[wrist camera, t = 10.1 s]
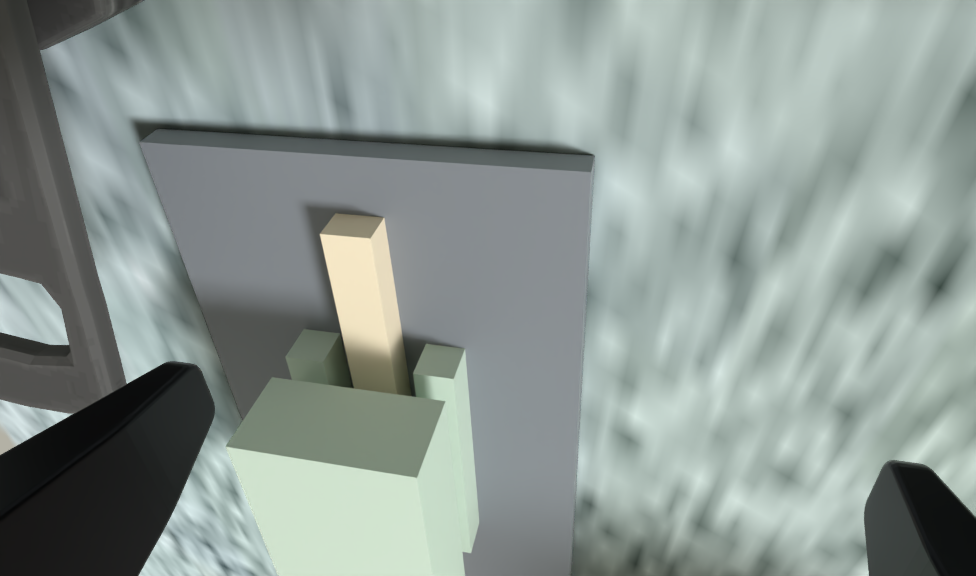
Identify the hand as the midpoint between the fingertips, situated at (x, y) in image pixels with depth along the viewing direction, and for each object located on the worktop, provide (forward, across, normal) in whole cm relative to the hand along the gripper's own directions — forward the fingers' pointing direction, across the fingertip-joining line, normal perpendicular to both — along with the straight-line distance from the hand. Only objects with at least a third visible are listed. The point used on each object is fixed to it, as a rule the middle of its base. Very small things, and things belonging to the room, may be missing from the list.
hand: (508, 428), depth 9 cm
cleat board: (+12, +7, +14) cm, 20 cm away
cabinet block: (+11, +7, +14) cm, 19 cm away
